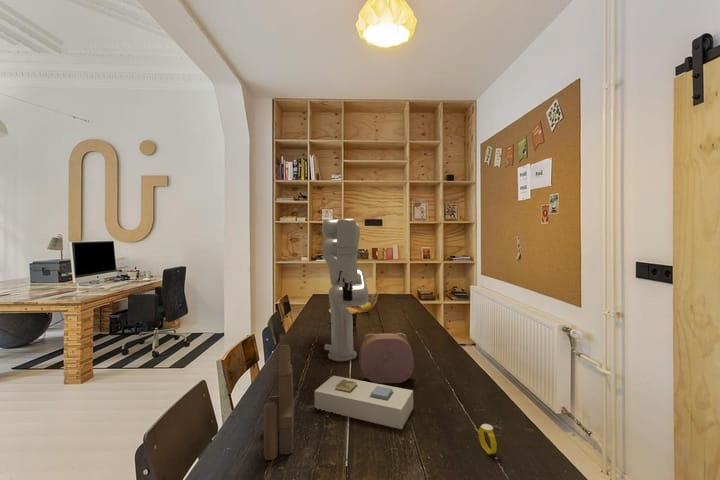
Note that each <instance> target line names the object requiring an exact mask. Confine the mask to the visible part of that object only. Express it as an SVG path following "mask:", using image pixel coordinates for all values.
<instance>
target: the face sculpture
mask: <svg viewBox="0 0 720 480" xmlns="http://www.w3.org/2000/svg"><path fill="white" fill-rule="evenodd" d="M363 338H364V339H363V342H362V344H361V346H360V348H359V354H358V360H359V361H358V363H359V367H360V369H361V372H362V374H363V376H364V377H365V378H366V379H367V380H368V381H370V382H371V383H376V384H402V383H405V382H406V381H407V380H408V379H409V378H410V376H411V374H413V372H414V352H413V350H412V347H411V345H410V343H409V342H408V339H407V338H408V337H407V334H405V333H402V332H400V333H399V332H398V333H386V332H385V333H367V334H365V335H364V337H363Z"/></svg>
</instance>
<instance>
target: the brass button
mask: <svg viewBox="0 0 720 480" xmlns="http://www.w3.org/2000/svg"><path fill="white" fill-rule="evenodd" d="M356 387H357V382H353V381H348V380H342V381H341V382H340V383H338V384H337V385H336V390H338V391H343V392H348V393H351V392H352V391H353V390H354V389H355V388H356Z"/></svg>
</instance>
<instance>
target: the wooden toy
mask: <svg viewBox="0 0 720 480" xmlns="http://www.w3.org/2000/svg"><path fill="white" fill-rule="evenodd" d="M277 375H278V395H275V396H274V395H273V396H269V397H268V399H269V400H268V402H266V403H265V404H264V405H263V408H262V409H263V413H262V414H263V454H264V456H263V457H264V459H265V460H266V461H267V460H272V461H274V460H276V459H277V458H278V455H279V454H285V453H292V454H293V451H294V450H293V449H294V446H293V445H294V440H293V439H294V427H295V419H294V418H295V417H294V416H295V412H294V411H295V410H294V408H295V407H294V405H295V404H294V402H295V401H294V384H293V381H294V378H293V365H292V364H291V347H290V344H281V345H279V349H278V371H277ZM277 430H279V431H277ZM285 455H286V454H285ZM276 457H277V458H276ZM275 458H276V459H275ZM273 459H274V460H273Z"/></svg>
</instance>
